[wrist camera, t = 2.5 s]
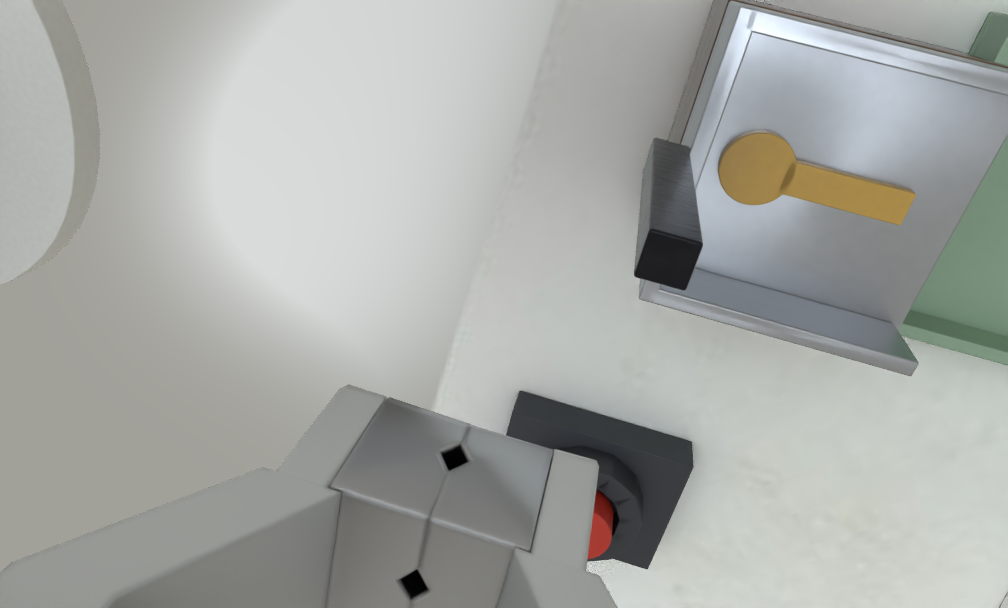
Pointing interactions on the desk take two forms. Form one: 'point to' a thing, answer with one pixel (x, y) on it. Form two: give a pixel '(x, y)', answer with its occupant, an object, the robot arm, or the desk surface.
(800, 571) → the desk surface
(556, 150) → the desk surface
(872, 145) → the grey dustpan
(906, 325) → the tray
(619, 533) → the grey button base
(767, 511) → the desk surface
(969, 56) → the stand
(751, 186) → the tan wooden spoon shape
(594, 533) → the bell button
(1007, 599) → the milk
